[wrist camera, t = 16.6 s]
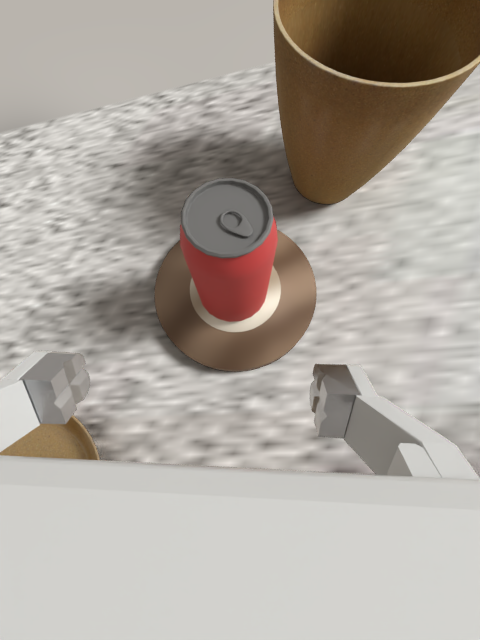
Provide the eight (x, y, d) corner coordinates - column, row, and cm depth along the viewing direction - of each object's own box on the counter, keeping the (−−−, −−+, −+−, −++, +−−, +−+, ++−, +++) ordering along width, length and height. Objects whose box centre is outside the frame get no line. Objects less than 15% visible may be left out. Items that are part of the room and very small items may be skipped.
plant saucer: (143, 521, 25) (132, 533, 23) (-28, 634, 23) (-61, 662, 20) (77, 371, 29) (61, 367, 26) (-76, 457, 27) (-109, 462, 24)
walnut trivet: (345, 306, 30) (350, 300, 29) (220, 406, 27) (219, 406, 26) (247, 203, 34) (248, 193, 32) (129, 282, 31) (123, 275, 30)
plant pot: (252, 137, 37) (259, -56, 22) (369, 126, 37) (458, -72, 22) (269, 241, 33) (293, 92, 17) (402, 227, 33) (540, 69, 18)
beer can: (235, 337, 28) (230, 286, 16) (185, 294, 29) (148, 218, 18) (280, 289, 29) (304, 210, 18) (230, 249, 30) (223, 152, 19)
